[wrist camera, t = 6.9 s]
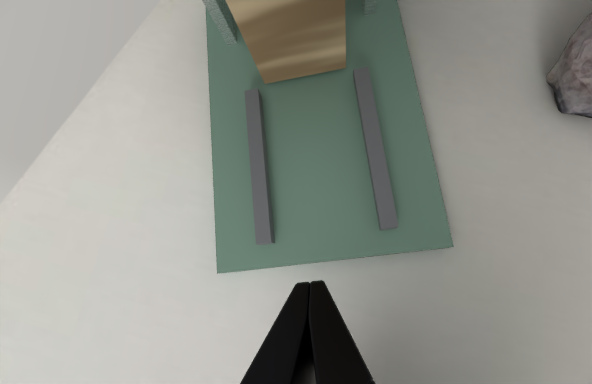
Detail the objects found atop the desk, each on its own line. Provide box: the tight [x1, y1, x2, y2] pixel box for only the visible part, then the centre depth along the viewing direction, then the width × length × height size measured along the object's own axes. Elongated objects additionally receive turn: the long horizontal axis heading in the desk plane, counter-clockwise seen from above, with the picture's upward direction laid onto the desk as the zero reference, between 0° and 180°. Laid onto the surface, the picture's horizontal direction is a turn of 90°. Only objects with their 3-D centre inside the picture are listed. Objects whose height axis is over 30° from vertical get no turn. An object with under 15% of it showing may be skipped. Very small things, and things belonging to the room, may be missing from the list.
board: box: [206, 0, 454, 273], centre depth 22 cm, size 24×15×2 cm, turn 6°
